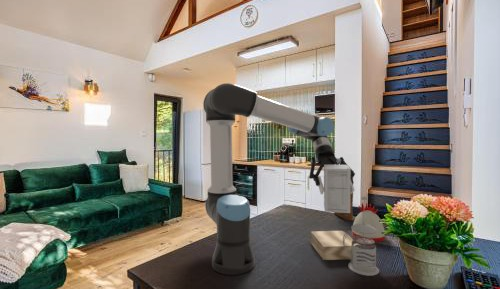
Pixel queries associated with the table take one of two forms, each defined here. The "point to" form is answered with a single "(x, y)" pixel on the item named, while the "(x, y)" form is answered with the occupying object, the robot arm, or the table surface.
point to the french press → (363, 250)
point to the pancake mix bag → (347, 215)
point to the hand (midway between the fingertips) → (337, 192)
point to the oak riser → (332, 244)
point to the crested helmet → (369, 223)
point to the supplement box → (337, 188)
